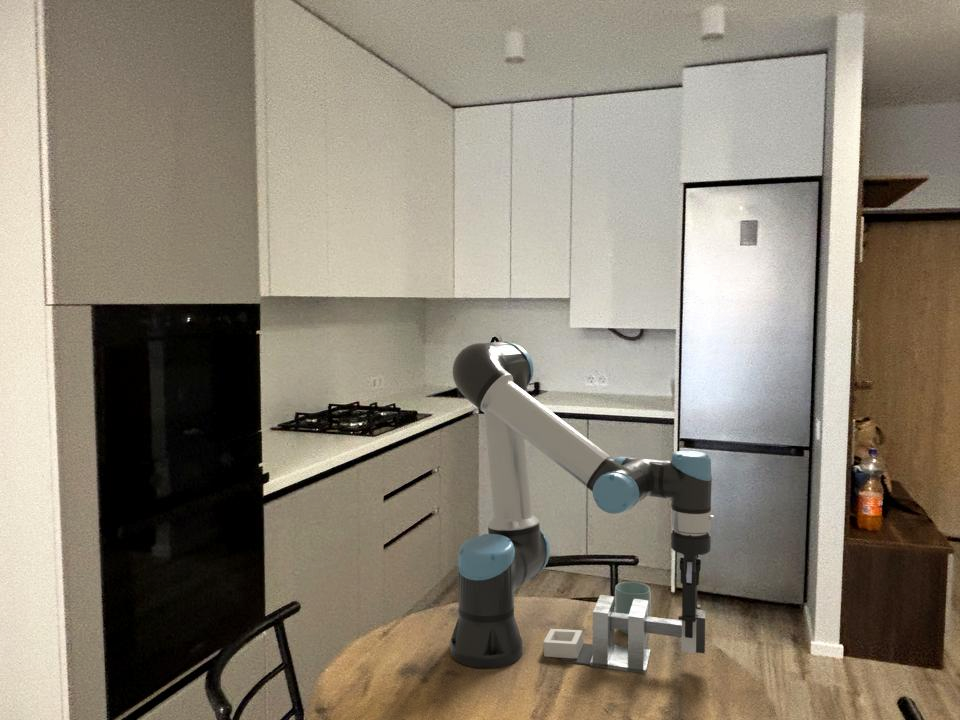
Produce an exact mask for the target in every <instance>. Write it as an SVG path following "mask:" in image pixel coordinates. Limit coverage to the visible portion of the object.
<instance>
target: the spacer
mask: <svg viewBox="0 0 960 720" xmlns="http://www.w3.org/2000/svg"><path fill="white" fill-rule="evenodd" d="M583 633H584V632H583V630H581V629H566V628H565V629H563V628H561V629H560V628H550V630H549V631H548V633H547V634H546V637H545V638H544V640H543V642H542V643H543V656H544V657H547V658H548V657H549V658H561V659H562V658H576V659H577V658H578V656H579V654H580V651H581V649H582V647H583V643H584V635H583Z"/></svg>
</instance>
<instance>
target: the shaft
mask: <svg viewBox="0 0 960 720" xmlns="http://www.w3.org/2000/svg"><path fill="white" fill-rule="evenodd" d="M628 616H629V614H623V613H615V611H614V612H611V614H610V628H613V629H614V630H620V629H621V630H628ZM621 630H620V631H621ZM645 633H648V634H654V635H661V636H671V637H677V638H682V620H678V619H672V618H664V617H663V618H662V617H657V616H656V617H653V616H650V617H648V616H646V619H645ZM705 651H706V610H705V609H704V610H703V609H696V654H697V653H698V654H706V652H705Z"/></svg>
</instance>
